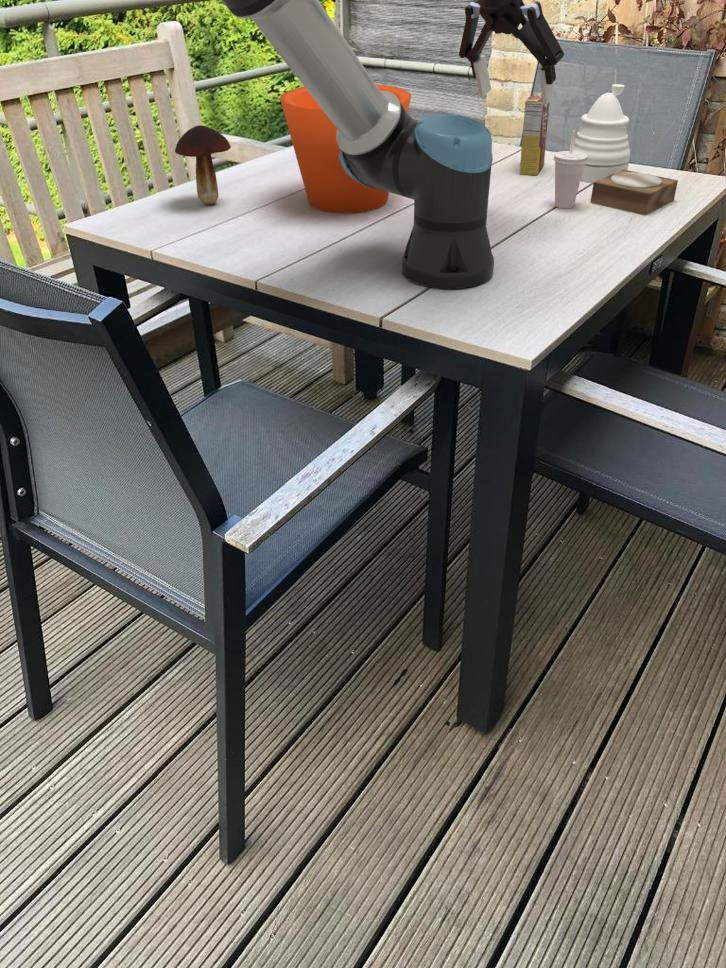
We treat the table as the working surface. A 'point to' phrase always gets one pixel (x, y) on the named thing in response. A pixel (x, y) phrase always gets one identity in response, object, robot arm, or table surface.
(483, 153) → the robot arm
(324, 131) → the flowerpot
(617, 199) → the pedestal
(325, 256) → the table surface
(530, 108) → the candy box
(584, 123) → the honey pot
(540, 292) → the table surface
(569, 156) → the smoothie
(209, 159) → the decorative mushroom
